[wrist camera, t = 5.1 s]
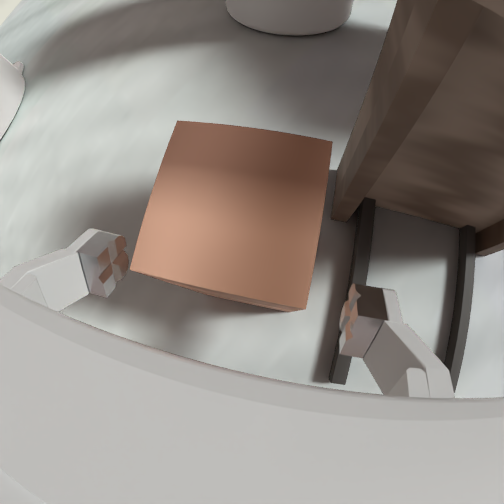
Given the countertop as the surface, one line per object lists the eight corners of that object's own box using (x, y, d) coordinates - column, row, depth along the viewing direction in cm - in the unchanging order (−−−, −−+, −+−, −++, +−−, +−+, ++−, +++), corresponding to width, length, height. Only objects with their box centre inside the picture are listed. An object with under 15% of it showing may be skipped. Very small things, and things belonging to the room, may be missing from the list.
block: (205, 294, 18) (129, 269, 8) (223, 214, 19) (177, 120, 9) (288, 312, 18) (305, 309, 8) (304, 229, 18) (332, 141, 9)
